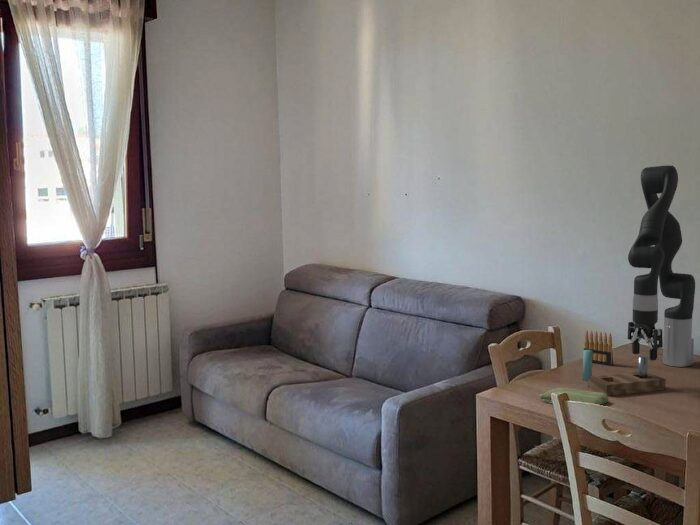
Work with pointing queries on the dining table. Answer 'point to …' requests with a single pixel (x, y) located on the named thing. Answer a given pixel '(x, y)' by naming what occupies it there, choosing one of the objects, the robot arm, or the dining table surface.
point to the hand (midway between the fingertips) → (644, 356)
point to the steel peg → (642, 367)
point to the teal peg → (587, 364)
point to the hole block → (626, 383)
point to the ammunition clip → (599, 348)
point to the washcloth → (578, 395)
